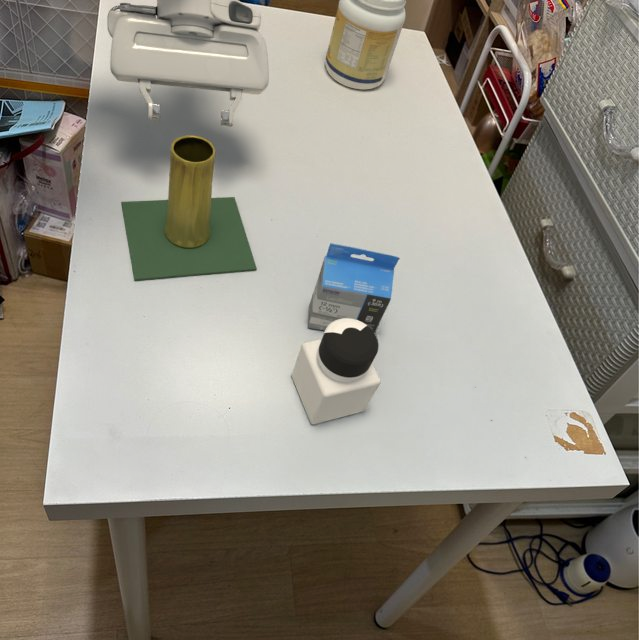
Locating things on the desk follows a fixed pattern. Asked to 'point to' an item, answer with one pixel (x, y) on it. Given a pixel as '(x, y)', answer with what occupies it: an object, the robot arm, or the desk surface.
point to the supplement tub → (364, 41)
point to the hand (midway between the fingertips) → (191, 122)
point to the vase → (190, 191)
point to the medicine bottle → (337, 371)
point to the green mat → (174, 261)
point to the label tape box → (352, 287)
